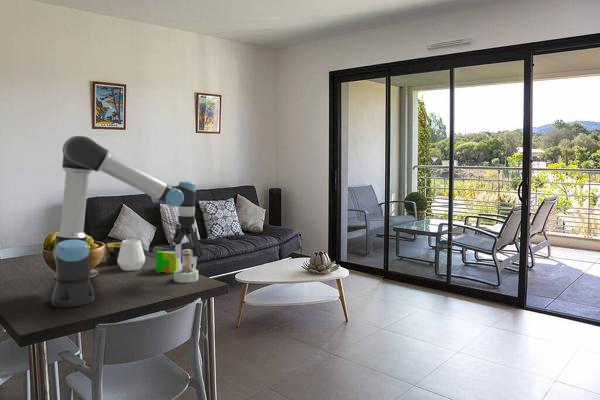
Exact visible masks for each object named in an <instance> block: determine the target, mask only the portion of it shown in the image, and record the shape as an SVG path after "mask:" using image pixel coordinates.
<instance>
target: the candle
mask: <svg viewBox="0 0 600 400" xmlns="http://www.w3.org/2000/svg"><path fill="white" fill-rule="evenodd" d="M121 244H122V242H107V243H106V254H105V255H106V257H105V258H106V260H105V261H106V264H107V266H109V267H111V266H119V264H118V262H117V260H118V256H119V252H120V248H121Z"/></svg>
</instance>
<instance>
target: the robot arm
mask: <svg viewBox="0 0 600 400" xmlns="http://www.w3.org/2000/svg"><path fill="white" fill-rule="evenodd" d="M62 154H63V155H62V165H61V166H62V167H61V168H62V169H63V170H64V172H65V179H64V189H63V199H62V200H63V201H62V207H61V208H62V209H61V210H62V211H61V219H60V229H59V231H58V232H57V233H55V241H54V247H53V248H52V249H53V250H52V256H53V257H54V260H55V261H54V262H55V277H56V278H55V281H56V283H55V287H54V289H53V293H52V297H51V305H52V306H54V307H58V308H76V307H81V306H86V305H89V304H91V303H93V302H94V301H95V293H94V289H93V287H92V284H91V282H90V248H89V247H90V246H89V243H88V242H87V240H88V239H87V237H88V235H87V234H86V233H85V232H84V228H85V219H86V218H85V217H86V208H87V196H88V188H89V187H88V186H89V177H90V174H91V173H93V172H97V173H98V172H102V173H104V174H105V175H108V176H110V177H112V178H114V179H116V180H118V181H120V182H122V183H123V184H126V185H129V186H130V187H132V188H134V189H136V190H138V191H140V192H142V193H144V194H146V195H148V196H149V197H150V198H151V201H152V202H153V203H158V204H166V205H168V206H170V207H171V208H172V207H173V208H176V207H178V209H177V214H178V216H177V223H176V226H175V227H176V228H175V232H174V234H173V238H172V242H173V243H174V245H175V246H174V247H175V248H174V249H175V258H181V249H182V241H183V239H184V237H186V238H187V240H188V242H189V245H190V247H191V248H190V250H191V256H190V264H191V265H193V264H197V258H198V257H197V255H198V254H197V253H198V250H199V249H201V245H200V240H199V237H198V231H197V230H198V229H197V227H196V226H195V227H193V225H194V224H195V223H196V221H195V220H196V216H195V213H196V193H197V192H196V183H195V182H194V181H186V180H185V181H179V182H178V185H170V184H167V183H166V182H164V181H162V180H160V179H158V178H156V177H154V176H153V175H151V174H148V172H147V173H146V172H145V171H144V170H141V169H139V168H137V167H135V166H133V165H131V164H130V163H128V162H126V161H124V160H122V159H120V158H118V157H117V156H115V155H112V154H111V153H110V150H108V149H106V148H105V147H104V146H101V145H100V144H99V143H97V142H95V140H93V139H92V138H90V137H88V136H83V135H74V136H71V137H69V138H68V139H67V140H66V141H65V142H64V143H63V147H62Z"/></svg>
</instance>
